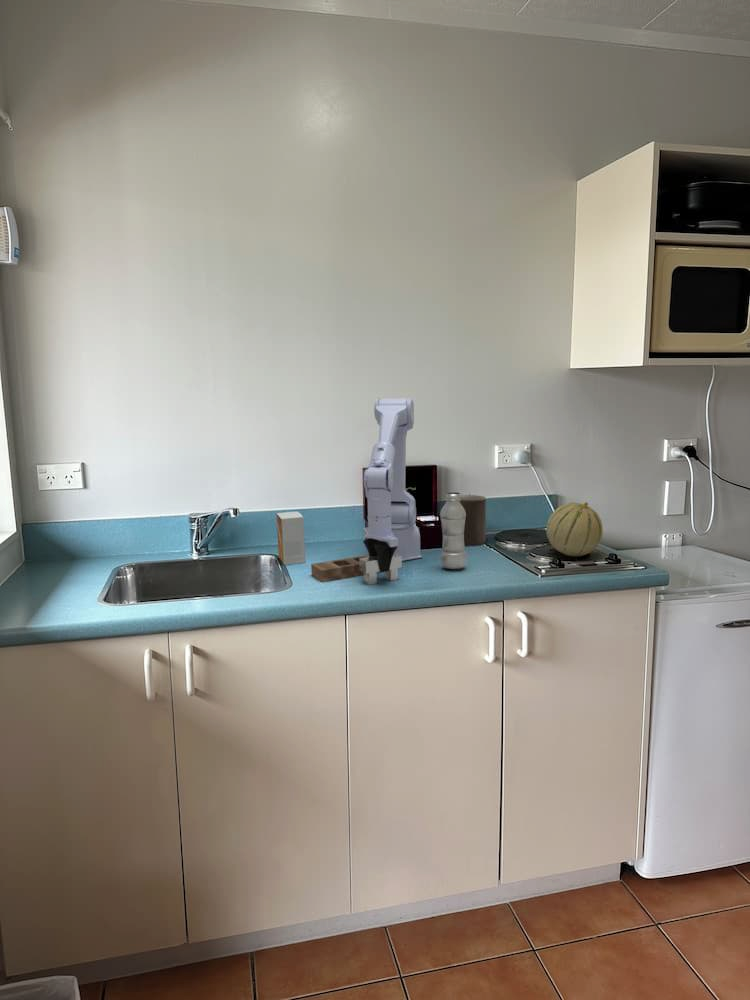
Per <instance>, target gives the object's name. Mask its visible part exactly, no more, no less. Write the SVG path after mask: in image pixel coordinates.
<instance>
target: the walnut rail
mask: <svg viewBox="0 0 750 1000" xmlns="http://www.w3.org/2000/svg"><path fill="white" fill-rule="evenodd" d="M365 557H370V556H369V554H365V555H359V556H352V557H346V558H342V559H341V558H340V559H336V560H335V559H334V560H328V561H322V562H315V563H311V564H310V566H311V576H312V577H313V578H315V579H317V580H319V581H320V582H322V583H326V582H325V581H327V582H332V581H338V580H344V579H348V578H354V577H360V576H364V572H362V571H360V568H359V558H365ZM377 573H382V572H381V571H379V572H377ZM343 578H344V579H343Z"/></svg>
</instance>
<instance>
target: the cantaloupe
mask: <svg viewBox="0 0 750 1000" xmlns="http://www.w3.org/2000/svg"><path fill="white" fill-rule="evenodd" d="M588 505H589V503H588V502H586V501H585V502H584V503H580V502H579V503H578V502H568V503H564V504H563V505H561V506H558V508H556V509H555V510H554V511H553V512H552V513H551V514H550V516H549V518H548V520H547V524H546V530H545V531H546V532H545V533H546V537H547V539H548V541H549V543H550V545H551V546H552V547H553V548H554V549H555V550H556V551H558V552H560V553H562V554H563V555H565V556H569V557H583V556H586V555H588V554H590V553H592V552H593V551H594V550H595V549H596V548H597V547H598V545H599V544H600V543H601V541H602V536H603V523H602V520H601V517H600V516H599V514H598V513H597V511H595V509H593V508H592V507H590V506H588Z"/></svg>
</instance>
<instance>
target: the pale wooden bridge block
mask: <svg viewBox="0 0 750 1000" xmlns="http://www.w3.org/2000/svg"><path fill="white" fill-rule="evenodd" d="M402 563H403V561H402V556H401V555H399V554H396V553H394V554H393V557H392V560H391V565H390V569H389V571H385V572H384V578H385V579H387V580H389V581H397V580H399V570H398V569H400V568H403V564H402ZM359 568H360V571H362V572H364V575H363V581H365V582H364V583H366V584H368V585H369V584H370V585H375V584H377V583H378V581H377V580H378V575H377V572H378V573H380V572H379V571H380V567H379V559H378V555H377V556H371V557H365V558H359Z"/></svg>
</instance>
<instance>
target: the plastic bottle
mask: <svg viewBox="0 0 750 1000" xmlns="http://www.w3.org/2000/svg"><path fill="white" fill-rule="evenodd" d="M460 495H461V492H458V491H457V492H456V491H451V492H449V491H448V492H445V501H446V502H445V504H444V505H443V506H442V508H441V509H440V515H439V517H440V523H441V531H442V549H441V554H440V562H441V565H442V567H443V568H444V569H446V570H460V569H464V568H465V566H466V564H467V553H466V549H465V547H466V546H465V545H464V525H465V517H466V512H465V510H464V508H463V506H462V505H461V504H460V500H461V498H460Z"/></svg>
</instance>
